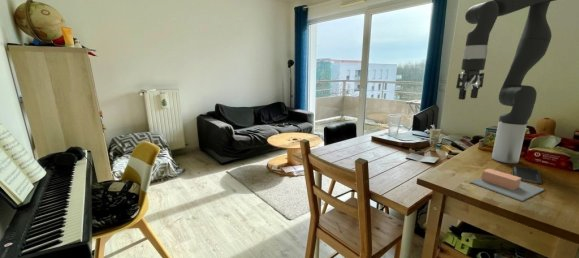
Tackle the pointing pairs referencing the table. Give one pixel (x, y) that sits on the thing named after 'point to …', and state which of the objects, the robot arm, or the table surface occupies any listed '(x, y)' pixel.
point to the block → (501, 179)
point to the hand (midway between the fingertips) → (467, 98)
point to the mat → (518, 194)
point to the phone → (527, 174)
